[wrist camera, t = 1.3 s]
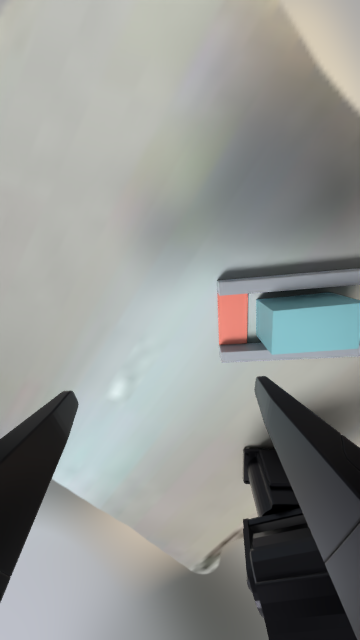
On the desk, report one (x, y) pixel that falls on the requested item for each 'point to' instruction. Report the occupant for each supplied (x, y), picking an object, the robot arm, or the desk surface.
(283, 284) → the channel
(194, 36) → the desk surface
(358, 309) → the teal block
